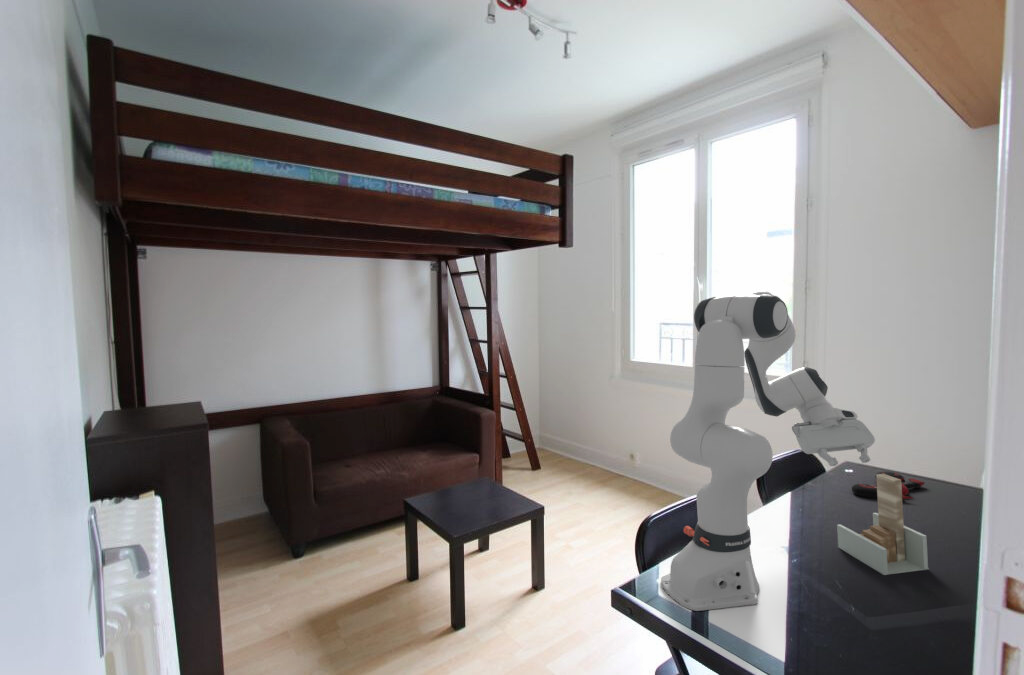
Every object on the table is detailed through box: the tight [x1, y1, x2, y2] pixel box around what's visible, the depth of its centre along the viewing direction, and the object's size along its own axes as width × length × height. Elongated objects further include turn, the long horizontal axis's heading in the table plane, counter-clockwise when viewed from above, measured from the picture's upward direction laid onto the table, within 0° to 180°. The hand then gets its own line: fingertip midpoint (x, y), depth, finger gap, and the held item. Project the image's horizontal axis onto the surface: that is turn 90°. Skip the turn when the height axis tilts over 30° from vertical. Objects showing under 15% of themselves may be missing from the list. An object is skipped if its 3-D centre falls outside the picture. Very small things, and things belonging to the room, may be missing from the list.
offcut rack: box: [836, 512, 929, 576], centre depth 119 cm, size 12×14×10 cm
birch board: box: [875, 473, 905, 561], centre depth 119 cm, size 2×5×20 cm, turn 5°
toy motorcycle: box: [851, 471, 925, 500], centre depth 162 cm, size 25×5×16 cm
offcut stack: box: [858, 524, 896, 563], centre depth 119 cm, size 6×6×7 cm
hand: (850, 463), depth 131 cm, fingers open, 8 cm apart
